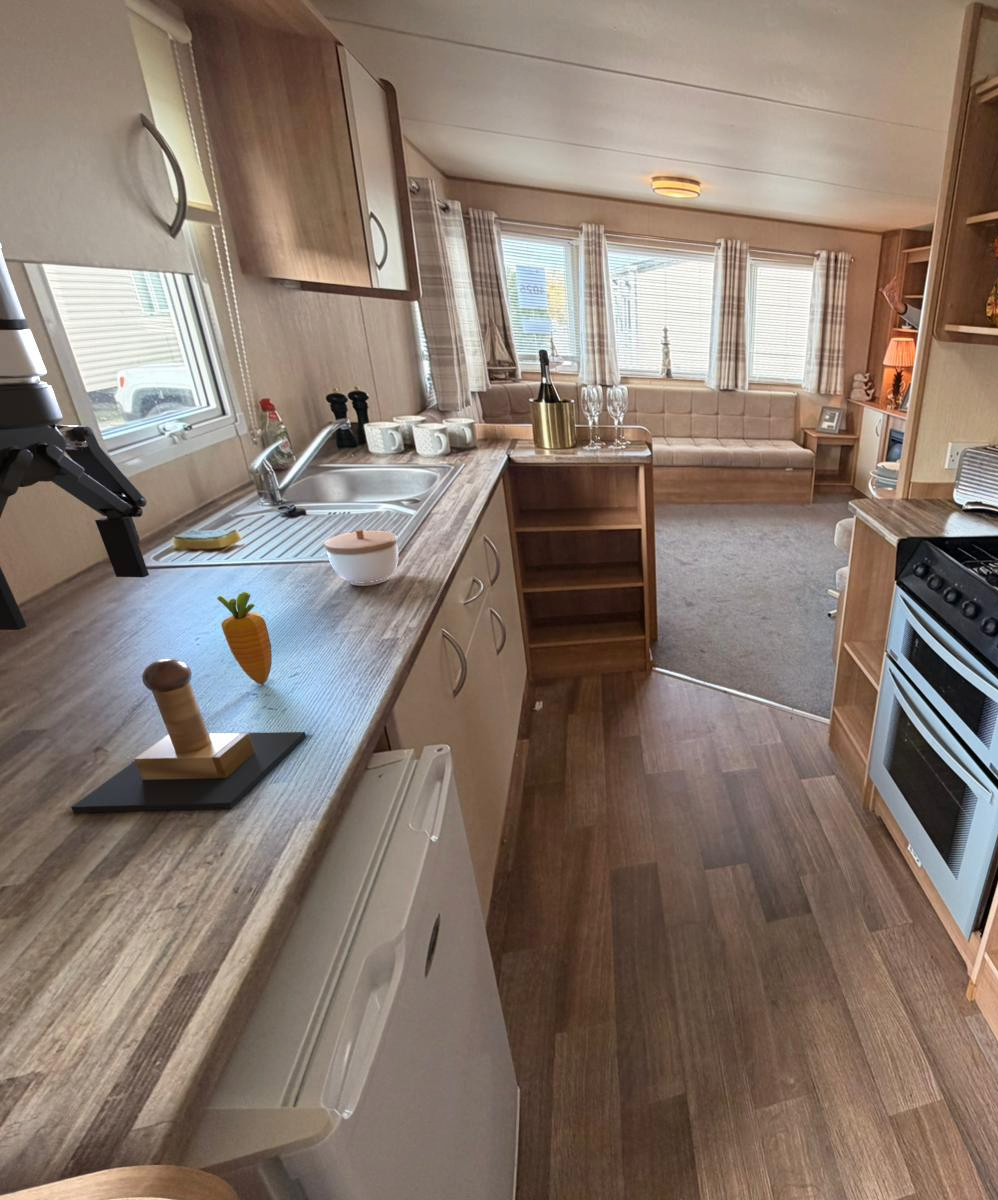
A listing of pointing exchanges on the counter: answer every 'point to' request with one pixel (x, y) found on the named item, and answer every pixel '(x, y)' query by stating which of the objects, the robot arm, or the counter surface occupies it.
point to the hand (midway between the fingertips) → (75, 599)
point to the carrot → (248, 638)
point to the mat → (191, 782)
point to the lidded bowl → (363, 556)
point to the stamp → (186, 731)
